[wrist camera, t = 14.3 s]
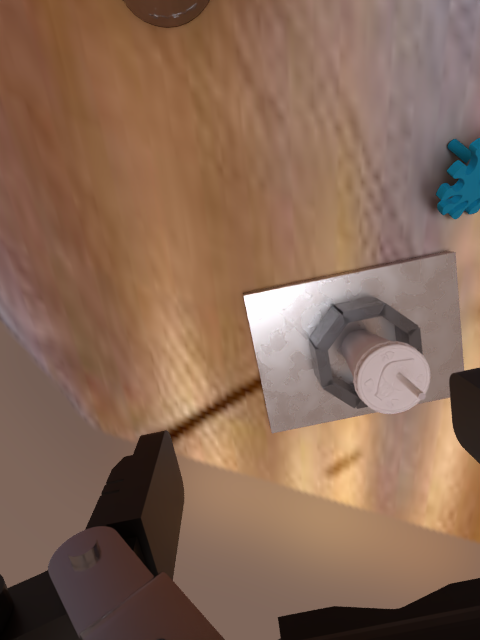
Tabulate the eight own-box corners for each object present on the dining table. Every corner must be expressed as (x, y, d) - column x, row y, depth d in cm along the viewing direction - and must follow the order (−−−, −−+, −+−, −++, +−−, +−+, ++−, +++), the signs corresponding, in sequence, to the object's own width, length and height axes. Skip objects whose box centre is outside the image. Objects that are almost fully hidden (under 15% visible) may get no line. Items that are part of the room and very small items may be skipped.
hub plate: (243, 293, 44) (245, 302, 39) (447, 250, 44) (475, 255, 39) (270, 426, 48) (275, 450, 43) (458, 388, 48) (484, 408, 43)
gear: (433, 237, 42) (463, 154, 33) (399, 201, 45) (417, 116, 36) (528, 194, 43) (580, 102, 34) (488, 161, 46) (526, 69, 37)
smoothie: (400, 341, 45) (477, 393, 31) (361, 385, 46) (418, 456, 32) (355, 305, 44) (414, 344, 30) (316, 352, 45) (356, 410, 31)
